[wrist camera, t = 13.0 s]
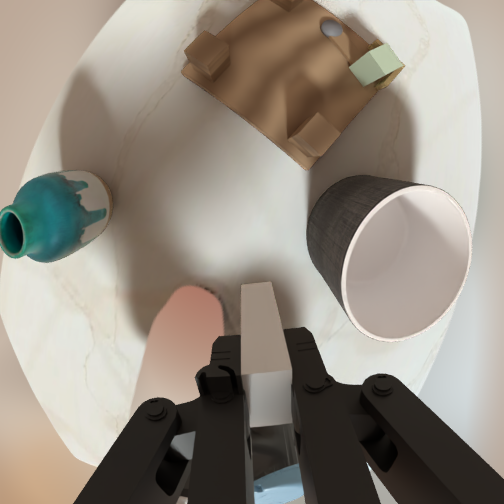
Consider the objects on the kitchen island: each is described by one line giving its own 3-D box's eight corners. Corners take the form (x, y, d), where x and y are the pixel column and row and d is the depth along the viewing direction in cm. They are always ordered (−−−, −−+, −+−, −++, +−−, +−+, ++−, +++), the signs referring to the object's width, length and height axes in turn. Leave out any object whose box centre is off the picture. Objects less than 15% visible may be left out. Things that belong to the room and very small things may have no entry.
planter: (394, 161, 38) (462, 166, 23) (415, 263, 43) (472, 303, 28) (289, 198, 39) (318, 219, 24) (324, 303, 44) (357, 364, 29)
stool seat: (390, 73, 33) (420, 58, 24) (305, 170, 38) (323, 171, 29) (281, -12, 28) (289, -43, 20) (183, 75, 33) (168, 54, 24)
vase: (61, 220, 38) (-20, 257, 20) (78, 159, 36) (-10, 166, 17) (111, 246, 40) (40, 301, 22) (132, 182, 37) (54, 200, 19)
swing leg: (332, 19, 29) (348, -2, 22) (379, 78, 32) (403, 65, 25) (314, 27, 29) (328, 5, 22) (363, 87, 32) (385, 74, 25)
